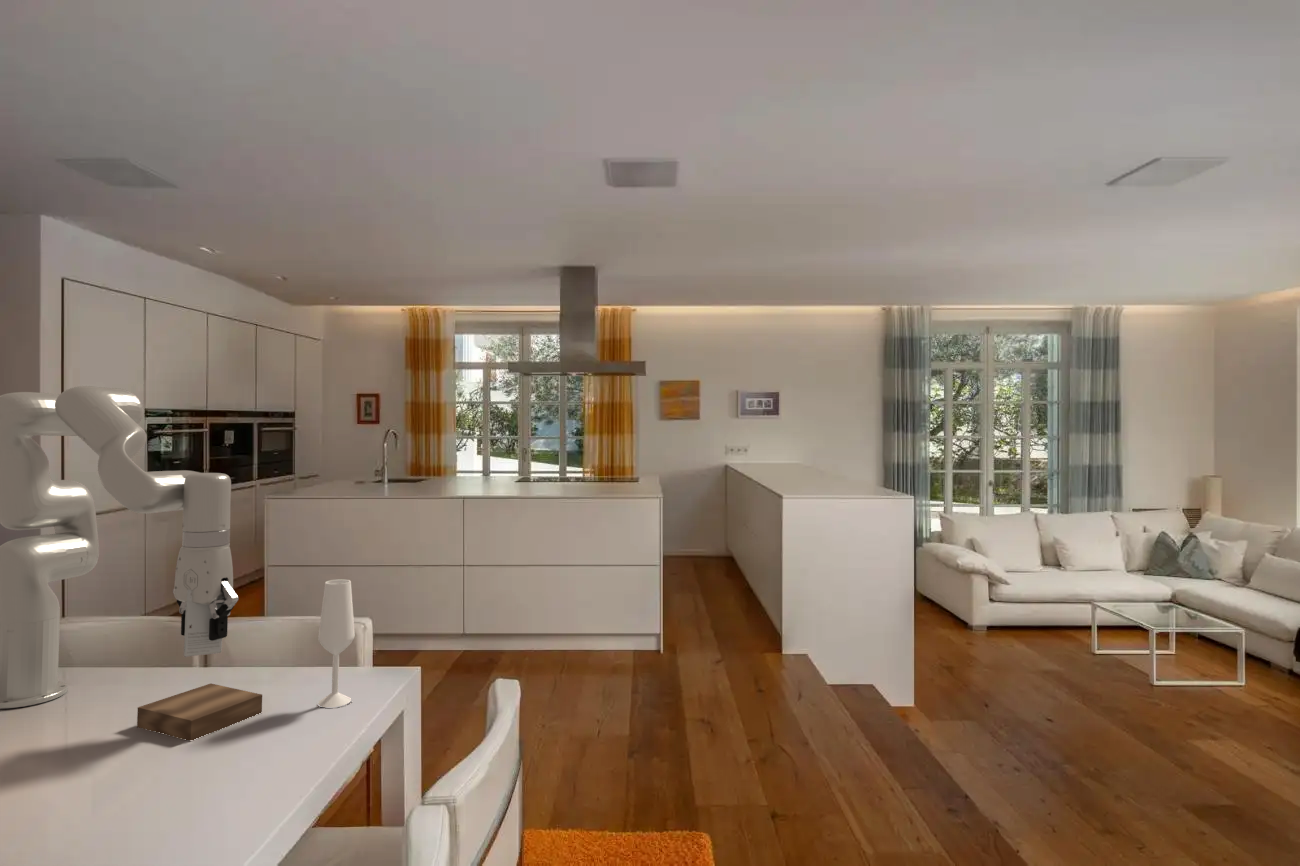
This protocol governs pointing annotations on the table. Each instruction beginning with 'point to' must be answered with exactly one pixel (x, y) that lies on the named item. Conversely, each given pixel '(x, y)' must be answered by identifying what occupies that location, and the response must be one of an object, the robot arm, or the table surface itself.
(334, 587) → the champagne flute
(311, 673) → the table surface
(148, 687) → the table surface
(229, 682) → the table surface
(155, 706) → the walnut base
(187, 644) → the skincare box
